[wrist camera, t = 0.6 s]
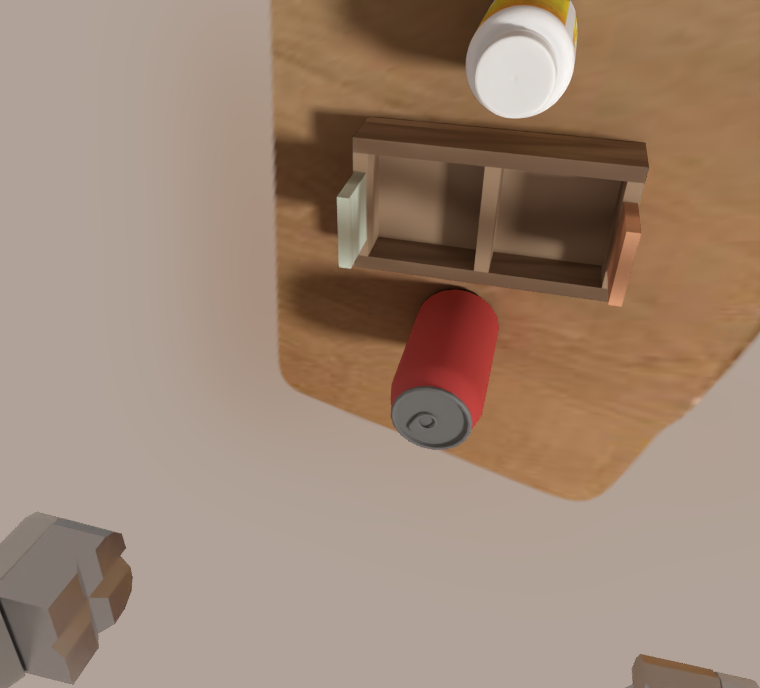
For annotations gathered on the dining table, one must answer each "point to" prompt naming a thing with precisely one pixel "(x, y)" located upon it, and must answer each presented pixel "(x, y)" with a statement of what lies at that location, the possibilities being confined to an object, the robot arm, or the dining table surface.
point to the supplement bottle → (522, 56)
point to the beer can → (444, 370)
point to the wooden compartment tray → (494, 207)
